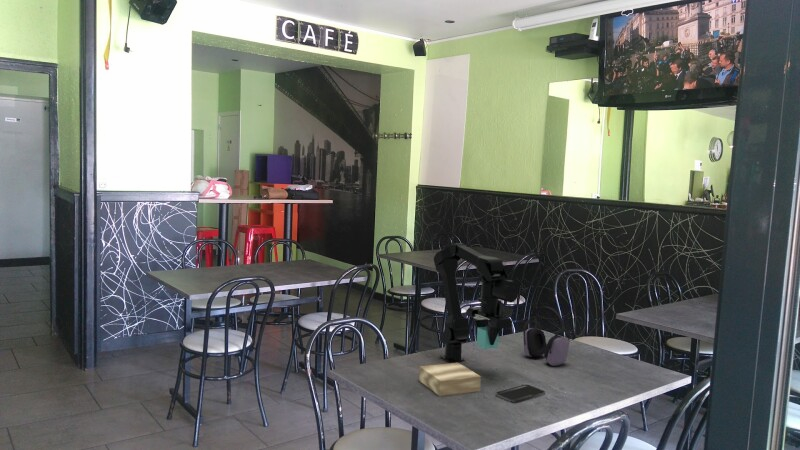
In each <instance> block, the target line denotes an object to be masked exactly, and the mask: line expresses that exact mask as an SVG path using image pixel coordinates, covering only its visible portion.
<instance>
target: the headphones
mask: <svg viewBox="0 0 800 450" xmlns="http://www.w3.org/2000/svg"><path fill="white" fill-rule="evenodd" d="M541 311H548V312H550V313H551V314H552V315H554V317H555V318H556V319H557V321H558V324H559V325H560V326H561V329H559V330H558V331H556V332H555V334H554V336H552V337H550V338H549V339H548V341H547V339H546V335H545V333H544V331H543V330H542V329H541V325H540V323H539V322H538V320H536V319H534V317H536V316H537V315H538V313H540V312H541ZM529 317H530V318H528V320H527V321H526V322H525V323H524V326H523V351H524V356H526V357H529V358H530V357H531V358H534V357H535V358H537V357H540V356H542V355H543V357H544V358H545V362H546V363H548V364H549V365H551V366H552V367H557V366H560V365H563V364H564V363H565V362H566V361H567V358H568V354H569V349H570V340H571V339H570V338H571V333H570V330H568V329H567V328H566V326H565V322H564V319H563V317H562V316H561V314H560V313H559V312H558V311H557V310H556V309H555V308H553V307H550V306H546V305H545V306H540V307H537V308H536V309H534V310H533V312H531V314H530V316H529ZM531 323H532V324H533V323H534V324H536V325H537V327H530V328H527V327H528V325H529V324H531ZM526 328H527V329H526ZM561 333H566V334H567V337H566V336H562V335H559V334H561Z"/></svg>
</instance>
